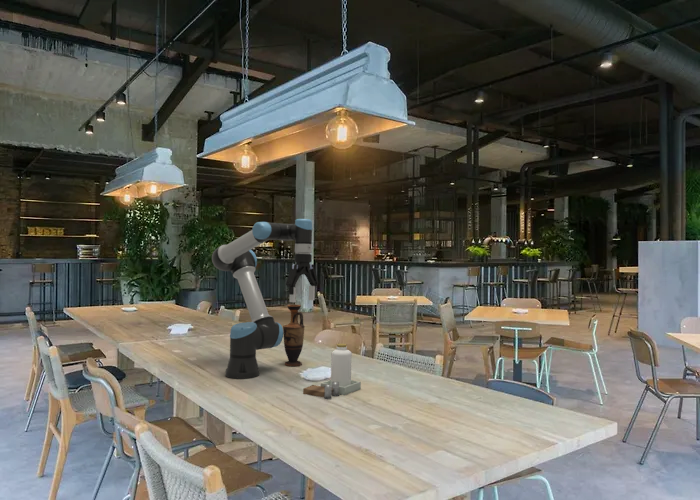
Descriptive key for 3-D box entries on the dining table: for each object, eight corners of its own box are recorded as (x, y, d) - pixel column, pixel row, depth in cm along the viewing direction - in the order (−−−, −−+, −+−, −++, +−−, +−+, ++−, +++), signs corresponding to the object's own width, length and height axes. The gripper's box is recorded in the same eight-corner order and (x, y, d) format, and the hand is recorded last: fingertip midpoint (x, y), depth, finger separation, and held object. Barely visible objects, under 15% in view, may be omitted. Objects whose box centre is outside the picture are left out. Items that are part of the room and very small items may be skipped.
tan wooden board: (303, 394, 199) (303, 388, 199) (312, 391, 205) (312, 384, 205) (324, 398, 194) (324, 392, 194) (333, 394, 200) (333, 388, 200)
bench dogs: (322, 398, 193) (323, 385, 193) (334, 393, 200) (334, 381, 200) (328, 399, 192) (328, 386, 192) (340, 395, 198) (340, 382, 198)
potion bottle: (348, 391, 201) (349, 346, 202) (328, 390, 203) (329, 345, 203) (352, 386, 210) (353, 343, 210) (333, 385, 211) (334, 342, 211)
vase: (278, 365, 249) (279, 305, 249) (288, 361, 259) (289, 303, 260) (297, 367, 245) (298, 306, 245) (307, 363, 255) (308, 304, 255)
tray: (320, 390, 205) (320, 383, 205) (337, 384, 214) (337, 377, 215) (344, 395, 198) (344, 387, 198) (360, 388, 208) (360, 381, 208)
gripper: (291, 253, 211) (290, 303, 210) (326, 254, 232) (325, 299, 231) (278, 252, 215) (277, 302, 215) (313, 253, 236) (312, 298, 235)
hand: (302, 301), depth 223 cm, fingers open, 13 cm apart
